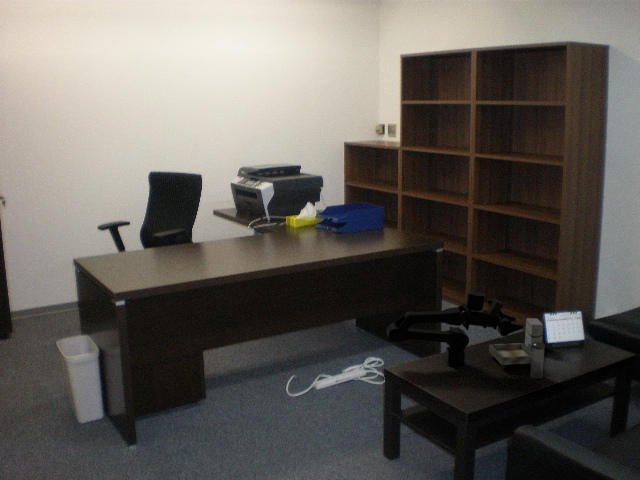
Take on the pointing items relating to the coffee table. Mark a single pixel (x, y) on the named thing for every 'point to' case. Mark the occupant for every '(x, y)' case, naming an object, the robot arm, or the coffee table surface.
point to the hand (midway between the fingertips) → (519, 323)
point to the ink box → (533, 332)
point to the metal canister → (537, 360)
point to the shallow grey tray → (511, 354)
